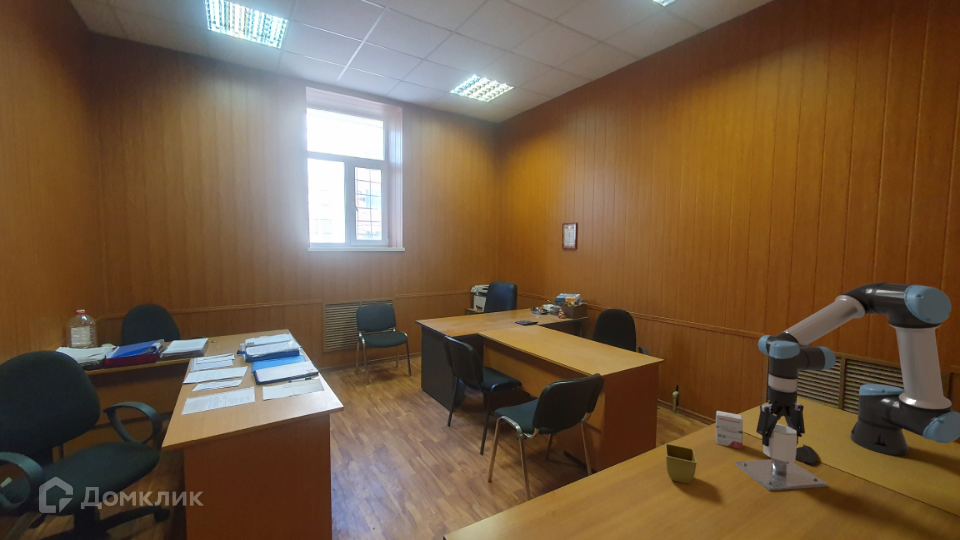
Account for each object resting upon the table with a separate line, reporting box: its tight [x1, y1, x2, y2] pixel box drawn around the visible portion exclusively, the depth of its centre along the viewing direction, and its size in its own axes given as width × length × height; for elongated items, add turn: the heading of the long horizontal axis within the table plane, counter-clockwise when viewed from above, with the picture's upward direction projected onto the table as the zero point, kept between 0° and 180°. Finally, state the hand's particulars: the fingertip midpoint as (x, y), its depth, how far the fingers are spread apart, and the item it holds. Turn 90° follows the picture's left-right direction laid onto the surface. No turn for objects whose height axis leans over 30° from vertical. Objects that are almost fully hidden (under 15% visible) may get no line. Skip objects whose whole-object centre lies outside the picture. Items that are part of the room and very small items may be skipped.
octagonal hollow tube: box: [766, 422, 797, 462], centre depth 124 cm, size 8×8×9 cm
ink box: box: [715, 410, 744, 450], centre depth 144 cm, size 9×5×12 cm, turn 58°
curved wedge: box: [795, 444, 819, 467], centre depth 136 cm, size 8×14×2 cm, turn 122°
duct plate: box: [734, 457, 828, 492], centre depth 124 cm, size 20×14×7 cm
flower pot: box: [664, 443, 698, 484], centre depth 123 cm, size 9×9×9 cm
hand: (779, 453), depth 124 cm, fingers closed on octagonal hollow tube, 8 cm apart
